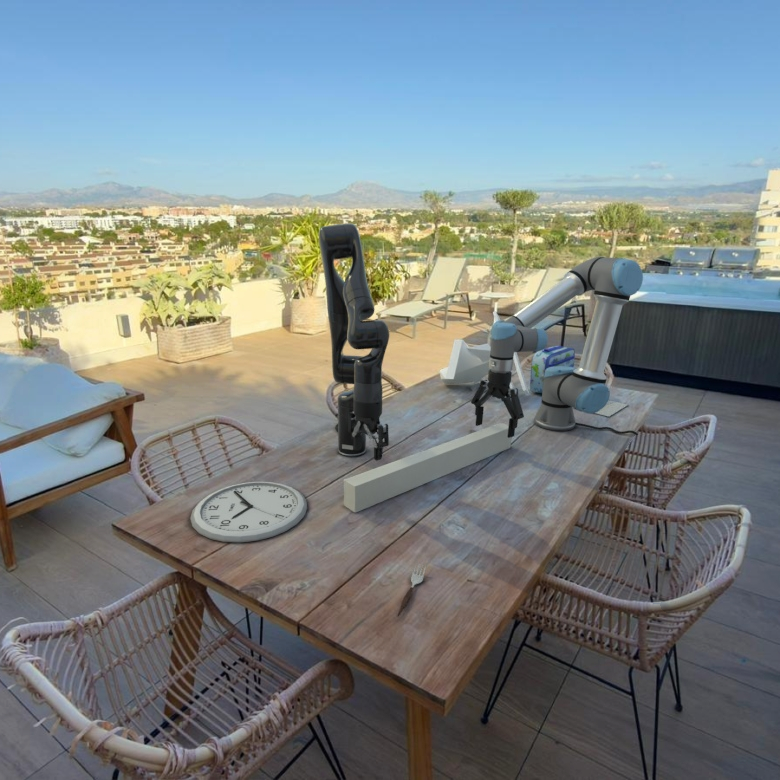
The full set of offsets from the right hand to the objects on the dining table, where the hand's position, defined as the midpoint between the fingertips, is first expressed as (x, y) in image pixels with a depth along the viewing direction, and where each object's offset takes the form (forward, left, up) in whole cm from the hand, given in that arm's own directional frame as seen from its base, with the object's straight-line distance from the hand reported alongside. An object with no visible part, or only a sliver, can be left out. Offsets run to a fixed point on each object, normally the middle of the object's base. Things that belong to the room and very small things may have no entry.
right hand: (494, 430), depth 178 cm
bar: (+18, +21, -7) cm, 29 cm away
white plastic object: (+2, -66, -7) cm, 67 cm away
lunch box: (-32, -74, -7) cm, 81 cm away
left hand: (+37, +41, +7) cm, 56 cm away
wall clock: (+67, +51, -7) cm, 84 cm away
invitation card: (-50, -54, -7) cm, 74 cm away
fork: (+22, +78, -7) cm, 81 cm away
